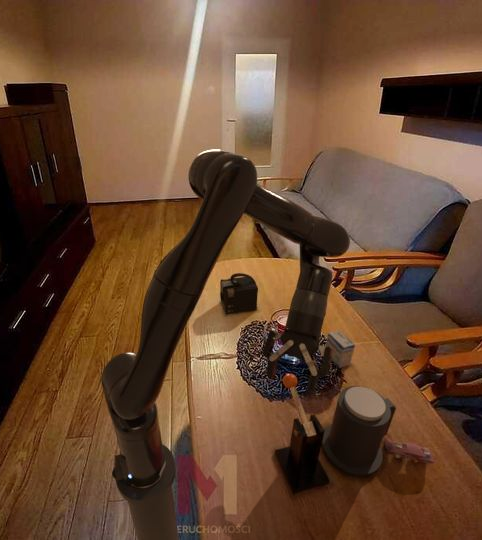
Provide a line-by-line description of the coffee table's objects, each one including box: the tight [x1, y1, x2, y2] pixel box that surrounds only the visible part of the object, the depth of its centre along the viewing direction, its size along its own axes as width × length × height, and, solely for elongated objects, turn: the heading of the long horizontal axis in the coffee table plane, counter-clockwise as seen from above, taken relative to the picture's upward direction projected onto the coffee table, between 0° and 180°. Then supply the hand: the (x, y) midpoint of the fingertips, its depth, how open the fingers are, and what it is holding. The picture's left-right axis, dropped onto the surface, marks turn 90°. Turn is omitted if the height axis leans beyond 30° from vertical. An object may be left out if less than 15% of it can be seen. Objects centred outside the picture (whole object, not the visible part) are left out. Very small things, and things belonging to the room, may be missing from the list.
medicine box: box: [324, 329, 356, 369], centre depth 112 cm, size 8×4×9 cm, turn 21°
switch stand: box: [274, 413, 331, 495], centre depth 79 cm, size 10×9×16 cm
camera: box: [219, 272, 259, 315], centre depth 137 cm, size 11×14×15 cm
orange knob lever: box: [282, 373, 317, 438], centre depth 79 cm, size 14×3×3 cm, turn 14°
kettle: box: [321, 385, 397, 479], centre depth 82 cm, size 15×14×18 cm
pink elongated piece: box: [384, 437, 435, 464], centre depth 83 cm, size 10×5×7 cm, turn 73°
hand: (288, 385), depth 75 cm, fingers open, 8 cm apart
